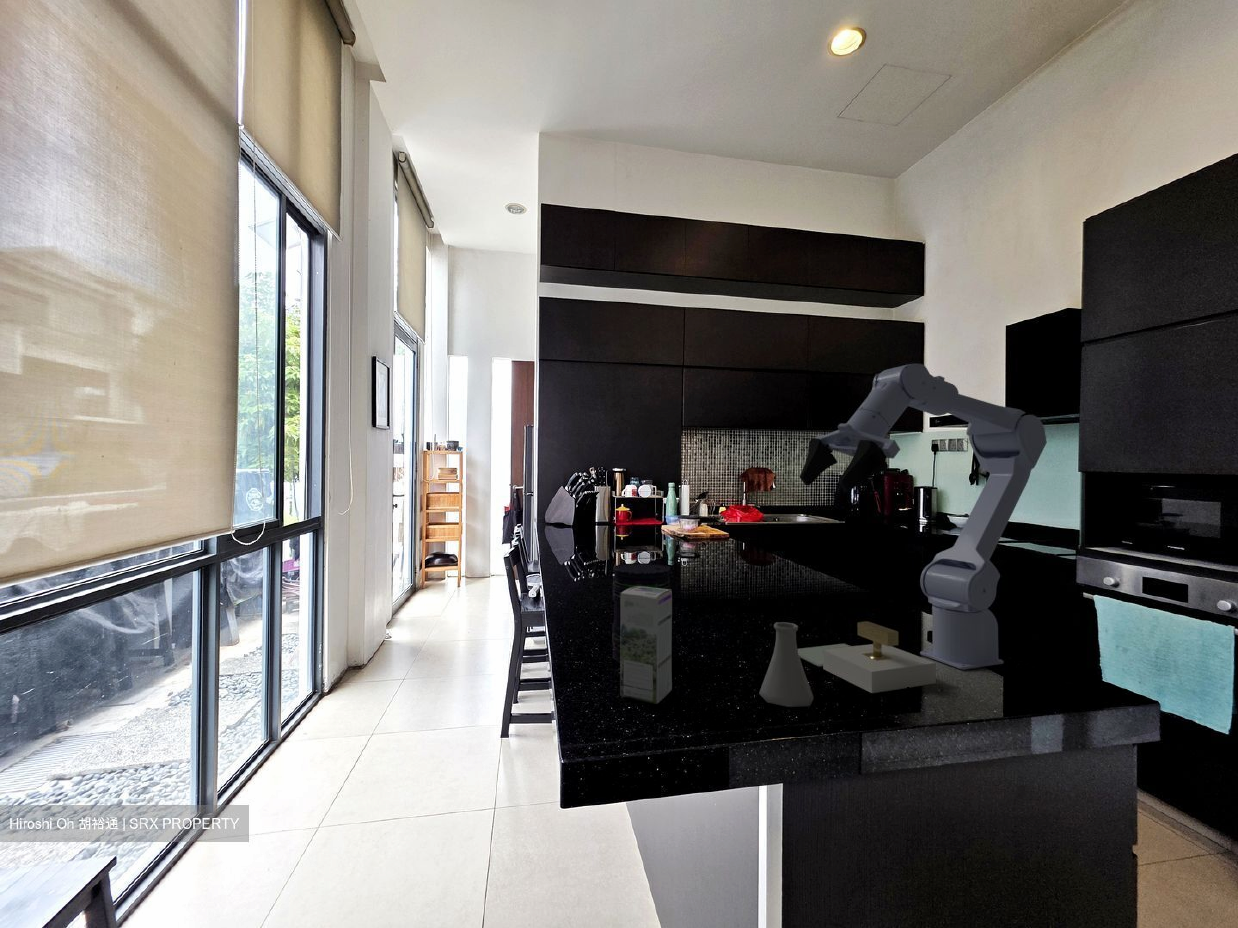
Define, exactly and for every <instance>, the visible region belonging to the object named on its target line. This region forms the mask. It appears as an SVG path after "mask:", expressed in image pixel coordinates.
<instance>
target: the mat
mask: <svg viewBox="0 0 1238 928" xmlns="http://www.w3.org/2000/svg"><path fill="white" fill-rule="evenodd" d="M844 647H852V646H851V645H850V644H849V645H848V644H847V643H837V644H829V645H821V646H811V647H810V646H809V647H803V648H797V649H798V654H799V657H800V659H802V660H805V661H807V662H809V664H813V665H815V666H817V667H823V650H827V649H835V648H844Z"/></svg>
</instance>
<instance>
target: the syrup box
mask: <svg viewBox="0 0 1238 928" xmlns="http://www.w3.org/2000/svg"><path fill="white" fill-rule="evenodd" d="M672 591H673V590H672V589H671V588H670V589H661V588H651V587H642V586H634V587H631V588H628V589H626V590H625V591H623V592H622V593H621V596H620V612H621V622H620V662H619V664H620V666H619V667H620V670H619V671H620V673H619V674H620V676H619V677H620V679H619V680H620V681H619V682H620V685H619V689H620V691H619V695H620V697H624V698H628V699H631V700H637V701H641V702H645V703H650V704H655V705H658V704H659V703H660V702H661V701H662V700H663V699H664V698H665V697H667V696H668V694H670V693H671V691H672V689H673V682H672V681H673V679H672V633H673V632H672V629H673V628H672V627H673V626H672V624H673V621H672V620H673V619H672V618H673V593H672Z"/></svg>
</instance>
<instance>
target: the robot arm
mask: <svg viewBox="0 0 1238 928" xmlns="http://www.w3.org/2000/svg"><path fill="white" fill-rule="evenodd" d="M908 407H910V408H913V409H916V410H919V411H921V412H924V413H926V414H930V415H932V416H939V417H940V416H944V415H946V414H948V415H949V414H950V415H952V416H954V417H956V418H958V419H960V420H962V421H965V422H967V423H968V425H967V427H966V428H967V429H966V435H967V436H968V441H969V444H970V447H971V449H972V451H973V453H974V456H975V457H976V459H977V461H978V463H979V465H980V467H981V469H983V470H984V471H985V472H988V473H989V477H988V478H987V480H986V482H985V484H984V486H983V488H982V490H981V492H980V493H979V496H978V498H977V500H976V502H975V504H974V506H973V508H972V509H971V512H970V514H969V515H968V517H967V520H966V522H965V524H963V525H964V526H963V527H962V529H961V530H960V531H961V532H960V534H959V535H958V537H957V539H956V541H955V542H954V545H953V546H952V547H950V548H948V549H945V550H942V551H940V552H939V553H936V554H935V556H934V558H933V560H932V561H931V562H930V563H929V564H927V565H926V566H925V567H924V568H923V570H922V571H921V574H920V580H919V583H920V584H919V585H920V588H921V591H922V593H923V595H924V596H926V597H927V599H928V600H927V601H928V602H927V603H930V604H931V605H932V607H931V610H932V611H931V614H932V617H931V618H932V621H931V622H932V624H931V625H932V649H929V650H928V649H927V650H921V651H920V652H919V655H921V656H924V657H927V658H930V659H932V660H935V661H938V662H940V663H942V664H946V665H949V666H951V667H954V668H956V669H959V670H970V669H977V668H982V667H990V666H996V665H1002V664H1004V662H1005V661H1004V660H1002V659H999V625H998V621H997V618H996V616H995V615H994V613H993V612H992V611H991V610H990V609H988V608H990V607H991V605H992V604H993V603H994V601H995V599H996V596H997V588H998V587H997V586H998V582H999V580H1000V577H1001V574H1000V572H999V570H998V569H997V567H996V566H995V565H994V563H993V562H992V561H991V560H990V559H991V558H992V556H993V553H994V552H995V550H996V547H997V545H998V543H999V540H1001V537H1002V535H1003V533H1004V531H1005V529H1006V526H1007V525H1008V523H1009V520H1010V519H1011V517H1012V515H1013V513H1014V510H1015V508H1016V507H1017V504H1018V502H1019V500H1020V499H1021V496H1022V494H1023V492H1024V490H1025V488H1026V486H1027V484H1028V482H1029V480H1030V477H1031V471H1032V470H1034V468H1036V466H1037V464H1038V462H1039V459H1040V457H1041V455H1042V453H1043V452H1044V449H1045V447H1046V445H1047V443H1048V441H1047V436H1046V431H1045V427H1044V424H1043V422H1042V421H1041V420H1040V419H1039V418H1038V417H1037V416H1036V415H1034V414H1026V411H1023V410H1022V409H1019V408H1013V407H1008V406H1003V405H998V404H994V403H990V402H987V401H984V400H981V399H978V398H974V397H970V396H966V395H964V394H961V393H960V392H959V390H958V387H956V385H955V384H953V383H951V382H948V381H946V379H945V377H944V376H941V375H935V376H934V375H932V374H931V373H930V371H929V370H928V368H927V367H926V366H925V365H924V364H922V363H917V362H916V363H908V364H905V365H904V364H903V365H901V366H900V365H899V366H897V367H892V368H888V369H885V370H882V371H881V372H880V373H876V374H875V375H874V378H873V381H872V389H871V391H870V392H869V394H868V396H867V397H866V398H865V399H864V401H863V402H861V404H860V406H859V407H858V408H857V409H856V410H855V412H854V414H853V415H852V416H851V417H850V418H849V420H848V421H847V422H846V423H839V424H838V425H837V430H835V431H832V432H829V433H826V434H824V435H816V437H811V438H810V440H809V441H808V451H807V456H806V459H805V462H804V465H803V467H802V469H801V472H800V474H799V478H800V480H801V481H802V483H803V484H804V485H805V486H810V485H812V484H813V483H814V482H815V481H816V479H817V478H819V476H820V475H821V474H822V473H823V472H825V471H826V470H827V469H829V468H830V467H832V466H834V465H836V464H837V463H838V460H837V459H836V457H835V456H834V454H833V452H838V453H841V454H844V455H847V456H850V457H852V459H851V461H850V462H849V464H848V466H847V467H846V468H845V470H844V472H842V474H841V475H840V478H839V480H838V484H839V486H840V487H841V489H842V490H843V492H845V493H849V492H850V491H852V490H853V489H854V488H855V487H857V486H859V484H861V483H862V482H865V480H867V479H869V478H870V477H873V476H875V475H877V474H879V473H882V472H885V471H887V469H888V468H889V464H888V463H887V459H895V457H896V456H897V454H898V453H899V452H900V451H901V448H900V446H899V445H898V443H897V441H896V440H895V439H889V438H886V435H887V434H888V433H889V431H890V430H891V429H892V427H893V426H894V425H895V423H896V422H897V421H898V419H899V418H900V417H901V416H902V415H903V413H904V412H905V410H906V409H907V408H908ZM1024 414H1026V415H1024ZM1023 415H1024V416H1023Z"/></svg>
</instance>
